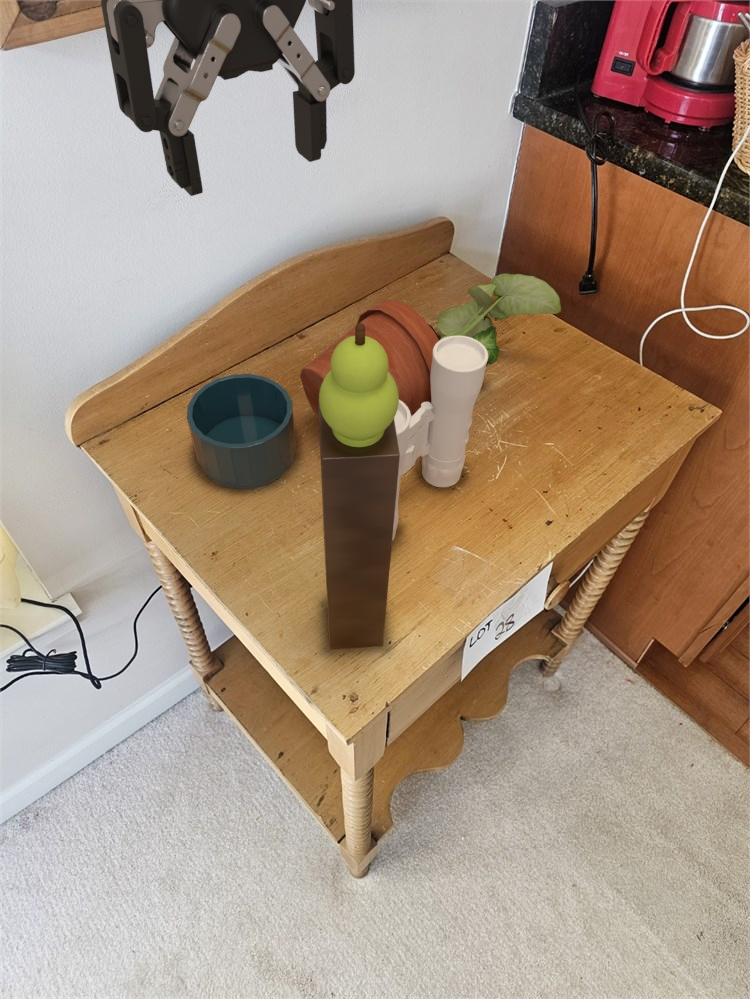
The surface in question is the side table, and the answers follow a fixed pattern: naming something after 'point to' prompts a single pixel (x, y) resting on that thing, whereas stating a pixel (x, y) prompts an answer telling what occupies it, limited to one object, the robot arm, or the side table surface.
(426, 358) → the potted plant
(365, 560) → the pedestal
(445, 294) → the side table surface
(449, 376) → the binoculars
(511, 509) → the side table surface
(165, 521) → the side table surface
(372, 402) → the pear
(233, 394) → the teal bowl
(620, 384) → the side table surface
